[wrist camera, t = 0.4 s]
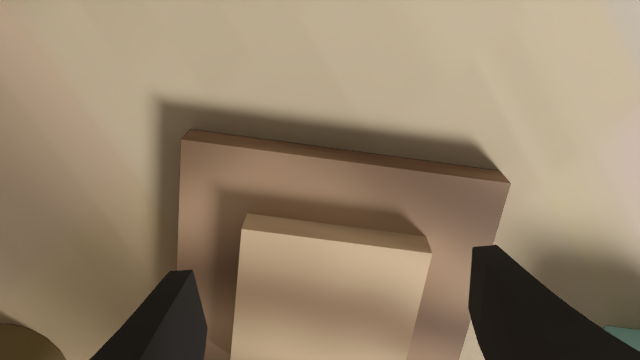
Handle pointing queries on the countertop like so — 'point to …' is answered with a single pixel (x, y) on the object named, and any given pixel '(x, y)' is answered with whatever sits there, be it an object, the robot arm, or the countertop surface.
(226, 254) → the walnut stand
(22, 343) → the salt shaker
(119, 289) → the countertop surface
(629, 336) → the teal block
